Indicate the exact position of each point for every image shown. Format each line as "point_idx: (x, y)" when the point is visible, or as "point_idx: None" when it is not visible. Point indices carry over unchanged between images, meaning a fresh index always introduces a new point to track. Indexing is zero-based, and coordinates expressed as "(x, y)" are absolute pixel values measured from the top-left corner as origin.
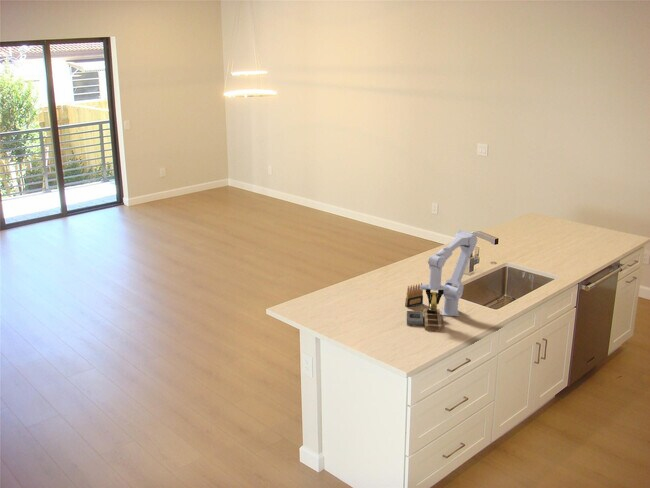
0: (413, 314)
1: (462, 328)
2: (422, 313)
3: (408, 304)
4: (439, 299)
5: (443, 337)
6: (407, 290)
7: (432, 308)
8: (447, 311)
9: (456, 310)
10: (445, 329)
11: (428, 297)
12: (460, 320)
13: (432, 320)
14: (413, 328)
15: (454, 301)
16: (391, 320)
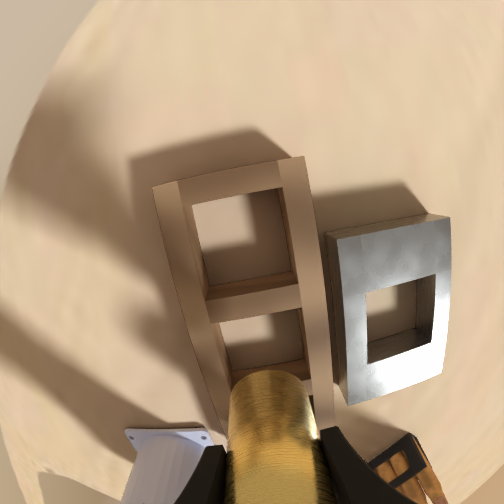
0: (406, 348)
1: (51, 282)
2: (347, 382)
3: (409, 447)
4: (182, 499)
5: (137, 83)
6: (445, 498)
7: (275, 386)
8: (182, 451)
9: (135, 459)
10: (138, 226)
11: (381, 490)
12: (97, 388)
13: (254, 291)
14: (382, 163)
15: (129, 501)
16: (494, 251)
